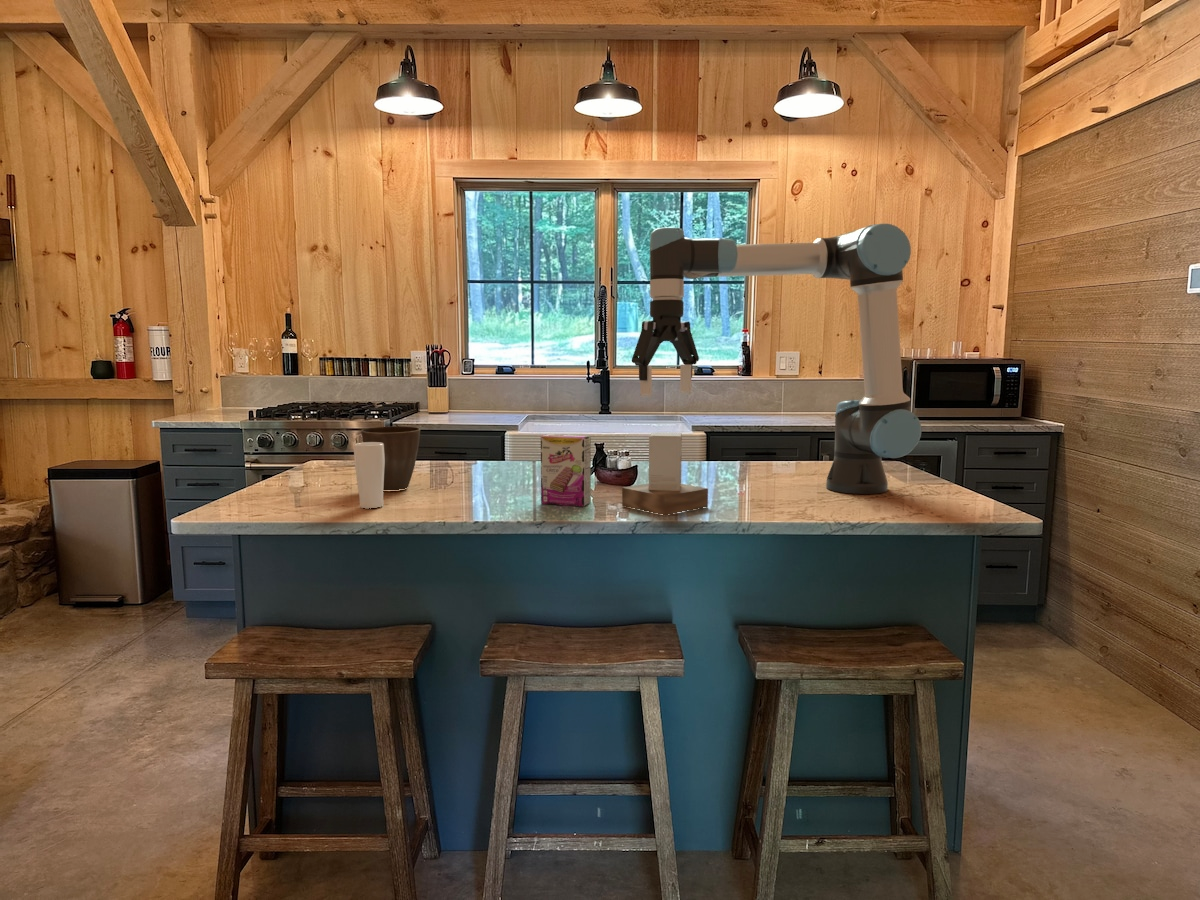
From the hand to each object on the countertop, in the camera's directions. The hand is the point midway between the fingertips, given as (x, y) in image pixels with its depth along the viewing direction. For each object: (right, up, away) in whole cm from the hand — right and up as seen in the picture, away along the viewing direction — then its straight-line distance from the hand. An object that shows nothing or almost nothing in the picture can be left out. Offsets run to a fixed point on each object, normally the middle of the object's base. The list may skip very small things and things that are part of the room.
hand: (666, 394), depth 179 cm
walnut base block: (0, -27, +3) cm, 27 cm away
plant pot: (-69, -23, +27) cm, 78 cm away
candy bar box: (-23, -26, +8) cm, 36 cm away
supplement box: (0, -22, +3) cm, 22 cm away
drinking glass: (-69, -26, +4) cm, 74 cm away
